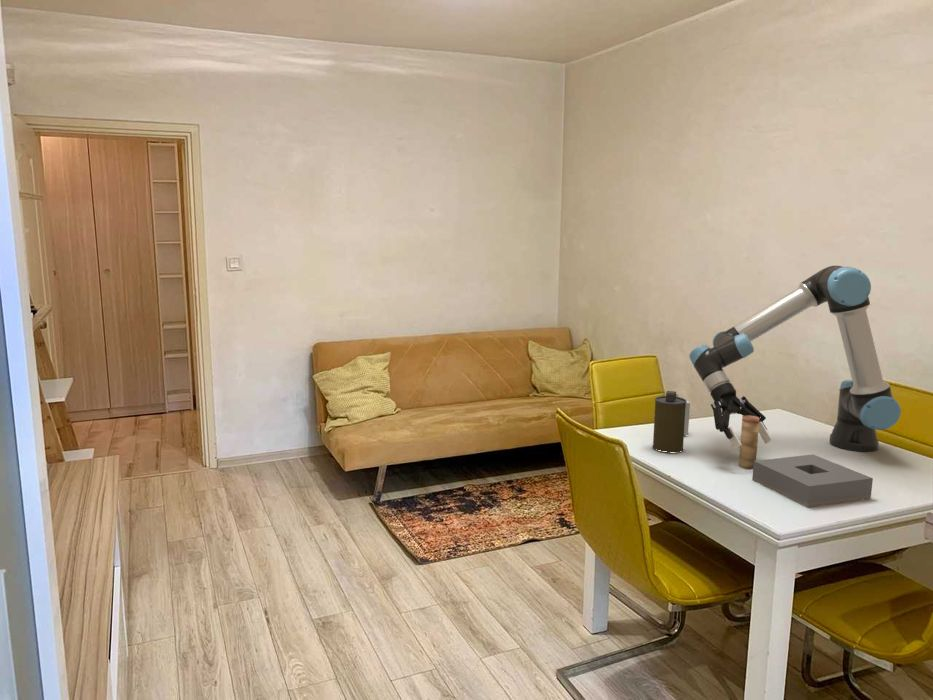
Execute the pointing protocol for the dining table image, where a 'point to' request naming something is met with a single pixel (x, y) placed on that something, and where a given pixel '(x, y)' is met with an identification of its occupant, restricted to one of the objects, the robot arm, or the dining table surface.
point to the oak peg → (748, 441)
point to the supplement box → (686, 418)
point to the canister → (669, 422)
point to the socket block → (812, 480)
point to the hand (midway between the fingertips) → (753, 444)
